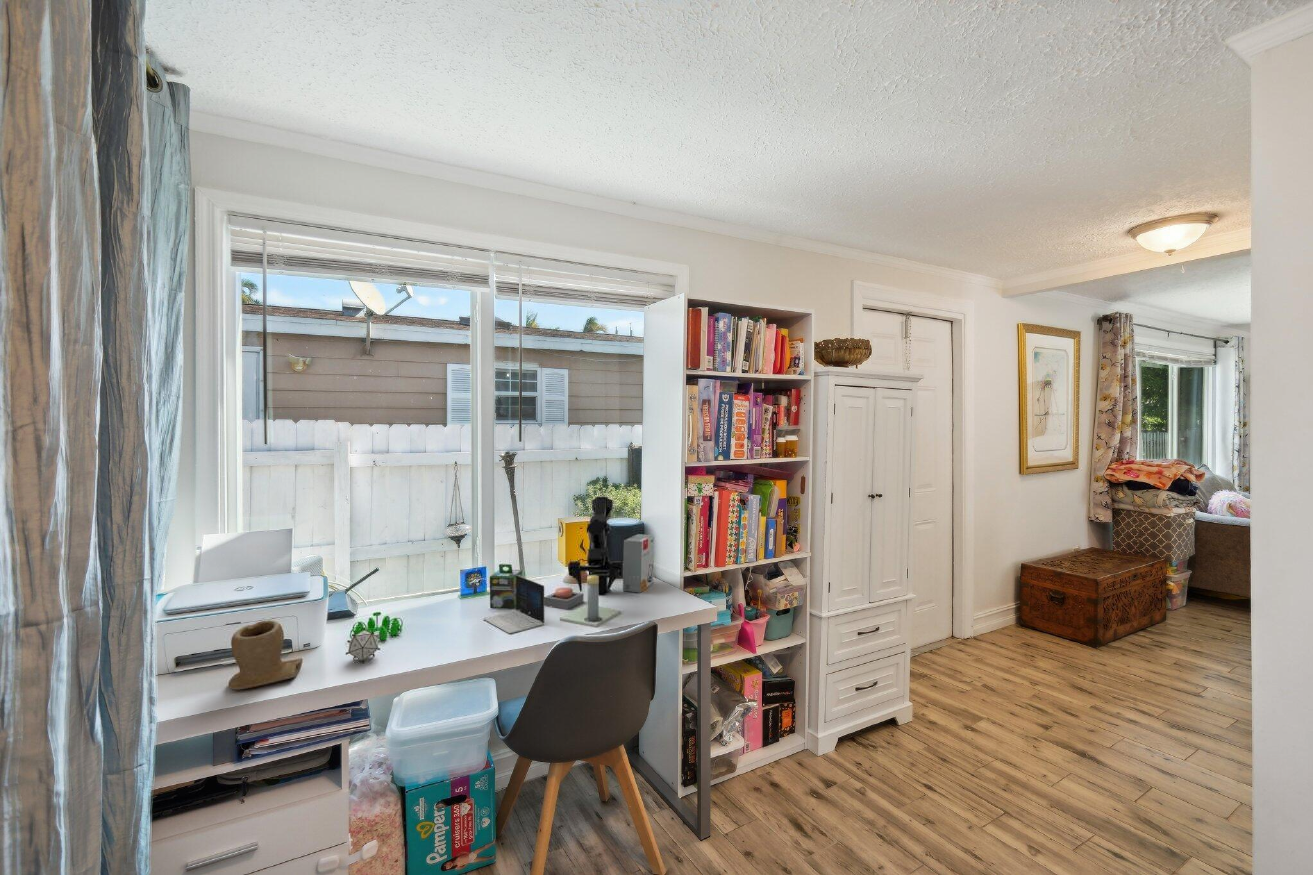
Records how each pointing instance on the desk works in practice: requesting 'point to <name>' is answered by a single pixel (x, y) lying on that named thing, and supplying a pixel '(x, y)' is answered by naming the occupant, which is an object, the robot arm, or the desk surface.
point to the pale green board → (582, 616)
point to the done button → (564, 593)
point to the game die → (363, 645)
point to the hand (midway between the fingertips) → (594, 591)
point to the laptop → (523, 608)
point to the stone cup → (261, 656)
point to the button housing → (563, 601)
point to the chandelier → (383, 631)
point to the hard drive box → (638, 563)
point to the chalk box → (503, 587)
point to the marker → (593, 597)
